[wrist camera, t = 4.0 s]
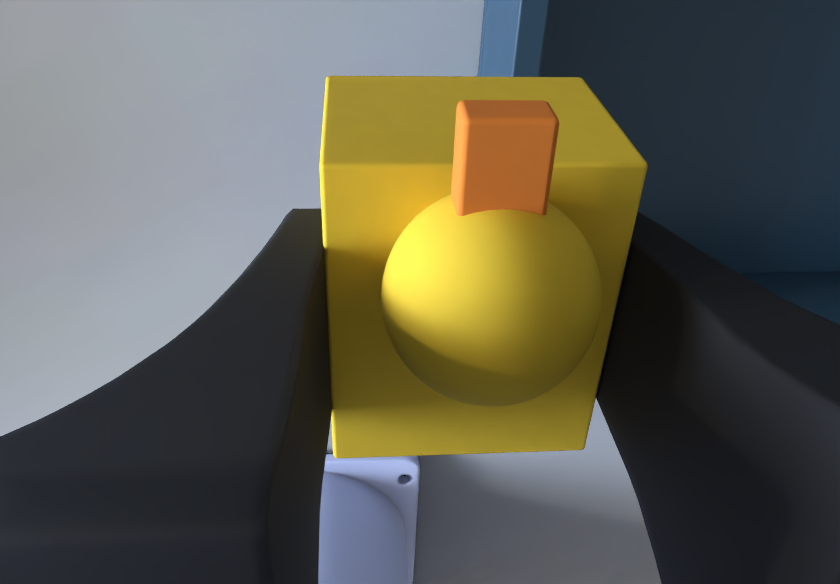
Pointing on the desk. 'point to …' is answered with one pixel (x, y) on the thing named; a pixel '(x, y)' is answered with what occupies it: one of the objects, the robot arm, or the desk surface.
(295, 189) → the desk surface
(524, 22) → the blue square tray
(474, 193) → the rubber duck
